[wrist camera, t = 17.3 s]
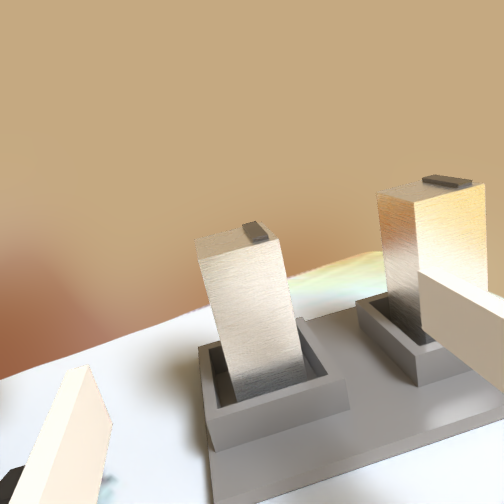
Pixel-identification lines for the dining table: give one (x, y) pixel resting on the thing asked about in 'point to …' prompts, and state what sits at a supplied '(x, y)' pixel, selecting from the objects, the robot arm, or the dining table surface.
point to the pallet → (338, 405)
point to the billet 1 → (252, 309)
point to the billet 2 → (430, 241)
